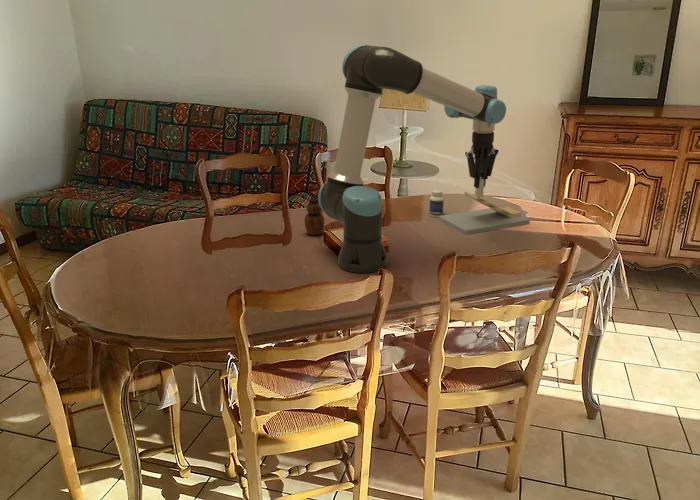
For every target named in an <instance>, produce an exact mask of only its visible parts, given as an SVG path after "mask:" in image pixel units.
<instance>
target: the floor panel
mask: <svg viewBox="0 0 700 500" xmlns="http://www.w3.org/2000/svg"><path fill="white" fill-rule="evenodd" d="M497 207H498V208H500V209H502V210H504V211H506V212H507V213H509V214H511V217H508V216H505V215H503V214H501V213H499V212H497V211H495V210H493V209H491V208H489V207H487V208H483V209H476V210H475V209H474V210H469V211H464V212H463V211H462V212H457V213H456V212H455V213H449V214H443V215H442V216H439V217H437V218H438V221H440V222H442V223H443V224H445V225H447V226H449V227H450V228H453V230H454V229H455V230H456V231H458V232H460V233H461V234H462V235H463V234H464V235H471V234H478V233H483V232H489V231H494V230H500V229H506V228H512V227H518V226H522V225H523V226H525V225H529V224H530V219H528V218H526V217H523V216H522V212H520V211H518V210H516V209H513V208H512V207H509V206H505V207H501V206H497Z"/></svg>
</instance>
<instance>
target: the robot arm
mask: <svg viewBox="0 0 700 500" xmlns="http://www.w3.org/2000/svg"><path fill="white" fill-rule="evenodd" d="M342 61H343V62H342V67H341V69H342V74H343V76H344V78H345V82H344V83H345V84H344V89H345V91H346V93H347V101H346V105H345V110H344V116H343V122H342V125H341V131H340V137H339V141H338V142H339V143H338V147H337V153H336V157H335V163H334V167H333V171H331V172H330V173H329V174H328V175H327V179H326V181H325V183H324V184H322V185H321V187H320V189H319V190H318V193H319V194H318V193H317V196H318V202H319V205H320V207H321V211H322V212H323V213H325V214H326V216H328V218H331V219H333V220H335V221H337V222H339V223H340V224H342V225H343V230H342V231H343V241H342V244H341V247H340V250H339V253H338V258H337V259H338V260H337V262H338V263H337V264H338V266H339V268H341V269H342V270H344V271H347V272H350V273H357V274H358V273H359V274H364V273H365V274H367V273H368V274H369V273H374V272H378V269H379V268H383V269H384V268H385V267H387V264H388V256H387V252H386V251H385V247H384V244H383V241H382V225H383V224H382V221H383V220H382V219H383V200H382V195H381V193H380V192H379V191H378V190H376V189H375V188H373V187H369V186H364V183H365V181H363V179H362V177H361V174H362V169H363V165H364V159H365V155H366V149H367V144H368V139H369V134H370V129H371V125H372V119H373V116H374V115H373V114H374V110H375V104H376V101H377V100H378V99H379V98H380V97H382V95H383V91H384V90H390V91H396V92H400V93H403V94H405V95H411V94H415V95H417V96H420V97H422V98H425V99H426V100H427V99H428V100H430V101H432V102H435V103H436V104H440V105H442V106H444V107H443V110H444V112H445V114H446V116H447V117H448V118H451V119H459V118H464V119H469V120H473V121H472V130H473V131H472V134H471V135H472V136H471V142H472V144H471V147H470V150H469V151H465V152H464V153H465V154H464V155H465V157H466V159H467V165H468V172H469V177H470V178H472V179H474V181H473V182H474V183H473V187H474V195H475V196H477V197H479V198H483V197H484V191H485V190H484V189H485V187H486V184H487V183H486V182H487V180H488V178H489V177H491V176H492V173H493V169H494V165H495V161H496V157H497V155H498V154H499V149H497V148H494V144H493V143H494V141H495V132H494V131H495V128H496V127H495V126H496V125H497V124H499V123H501V122H502V121H503V120H504V119H505V117H506V113H507V106H506V104H505V102H504V101H503V100H500V99H498V88H497V87H496V86H494V85H482V84H481V85H477V86H476V87H475V88H474V89H471V88H468V87H467V86H464V85H462V84H460V83H458V82H456V81H453V80H451V79H449V78H446V77H445V76H442V75H439V74H437V73H435V72H434V71H432V70H429V69H426V68H425V67H424V66H423V64H422V62H420V61H418V60H416V59H414V58H412V57H410V56H408V55H406V54H404V53H401V52H400V51H398V50H396V49H393V48H391V47H388V46H378V45H369V44H364V45H358V46H354V47H353V48H352V49H350V50H349V51H348V52H347V53H346V55H345V56H344V59H343V60H342Z"/></svg>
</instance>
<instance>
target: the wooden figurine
mask: <svg viewBox="0 0 700 500" xmlns="http://www.w3.org/2000/svg"><path fill="white" fill-rule="evenodd" d="M318 194H319V192H317V196H316V194H313V197H311V198H310V199H309V200H308V204H307V206H306V211H307V214H305V216H304V227H305V231H306V232H307V234H308V235H311V236H319V235H320V234H322V233H323V231H324V226H325V217H324V215H323V214H322V213H321V212H322V209H321V207H320V205H319V202H318Z"/></svg>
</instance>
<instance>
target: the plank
mask: <svg viewBox="0 0 700 500" xmlns="http://www.w3.org/2000/svg"><path fill="white" fill-rule="evenodd" d="M463 195H465V196H467V197H469V198H470V199H473V200H474V201H476V202H478V203H480V204H482V205H483V206H486V207H487V208H491V209H493V210H495V211H497V212H499V213H501V214H503V215H505V216H508V217H511V214H509V213H507V212H506V211H504V210H502V209H500V208H498V207H499V206H496V205H495V204H492V203H491V202H488V201H487V200H484V199H483V198H482V197H478V196H475V194H473V193H470V192H468V191H464V194H463Z"/></svg>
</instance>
